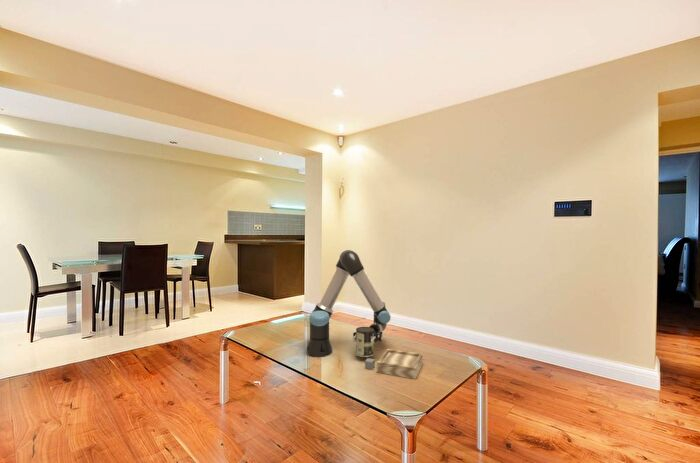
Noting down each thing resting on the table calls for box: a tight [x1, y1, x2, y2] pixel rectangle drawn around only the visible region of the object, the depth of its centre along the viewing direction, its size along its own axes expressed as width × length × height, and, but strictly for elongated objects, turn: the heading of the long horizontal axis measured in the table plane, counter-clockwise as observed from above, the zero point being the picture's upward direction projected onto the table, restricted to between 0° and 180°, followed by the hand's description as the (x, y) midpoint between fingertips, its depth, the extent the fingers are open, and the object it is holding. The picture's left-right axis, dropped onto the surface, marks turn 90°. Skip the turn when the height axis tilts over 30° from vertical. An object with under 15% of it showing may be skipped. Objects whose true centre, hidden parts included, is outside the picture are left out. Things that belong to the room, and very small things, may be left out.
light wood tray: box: [376, 348, 423, 380], centre depth 167 cm, size 20×20×5 cm
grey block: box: [364, 357, 376, 370], centre depth 167 cm, size 4×4×4 cm
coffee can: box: [355, 326, 375, 358], centre depth 180 cm, size 10×10×14 cm
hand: (362, 341), depth 176 cm, fingers closed on coffee can, 10 cm apart
